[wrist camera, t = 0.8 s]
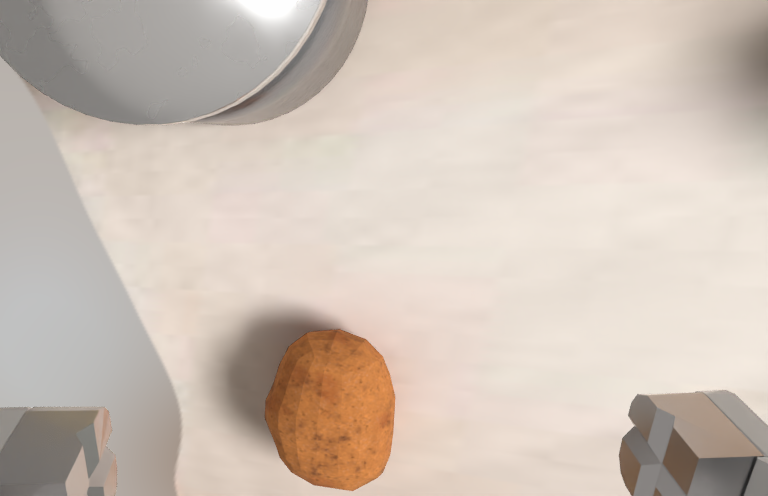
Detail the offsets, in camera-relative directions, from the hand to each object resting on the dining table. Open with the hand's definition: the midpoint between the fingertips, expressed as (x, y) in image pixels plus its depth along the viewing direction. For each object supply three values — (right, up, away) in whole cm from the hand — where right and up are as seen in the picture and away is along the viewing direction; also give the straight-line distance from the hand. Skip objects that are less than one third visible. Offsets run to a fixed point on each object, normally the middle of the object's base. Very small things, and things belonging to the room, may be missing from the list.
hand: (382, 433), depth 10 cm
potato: (-3, -8, +39) cm, 40 cm away
